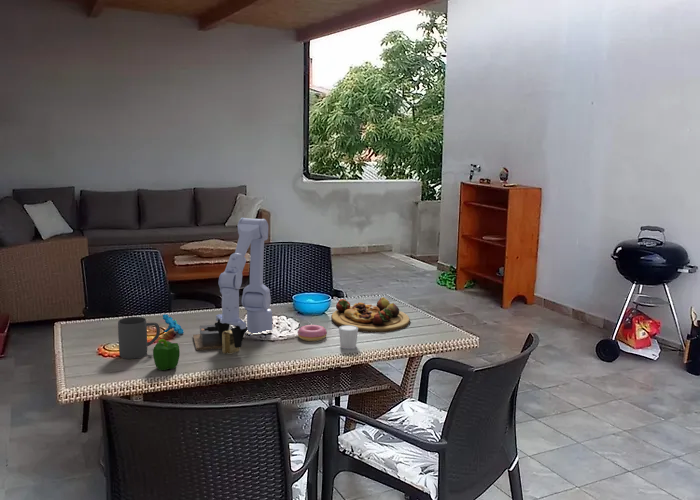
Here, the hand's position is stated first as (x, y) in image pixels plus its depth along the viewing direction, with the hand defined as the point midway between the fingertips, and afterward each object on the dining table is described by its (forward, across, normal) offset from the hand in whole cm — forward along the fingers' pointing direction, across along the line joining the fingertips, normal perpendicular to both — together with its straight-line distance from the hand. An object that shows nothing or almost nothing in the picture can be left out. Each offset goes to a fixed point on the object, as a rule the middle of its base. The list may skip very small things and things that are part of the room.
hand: (231, 344), depth 224 cm
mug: (+3, -19, -24) cm, 31 cm away
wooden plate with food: (+3, +9, +63) cm, 64 cm away
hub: (+2, -12, +2) cm, 12 cm away
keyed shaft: (+2, 0, 0) cm, 2 cm away
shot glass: (+3, +25, +33) cm, 41 cm away
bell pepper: (+3, -2, -25) cm, 25 cm away
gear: (+3, -31, -3) cm, 31 cm away
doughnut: (+3, +9, +31) cm, 32 cm away
